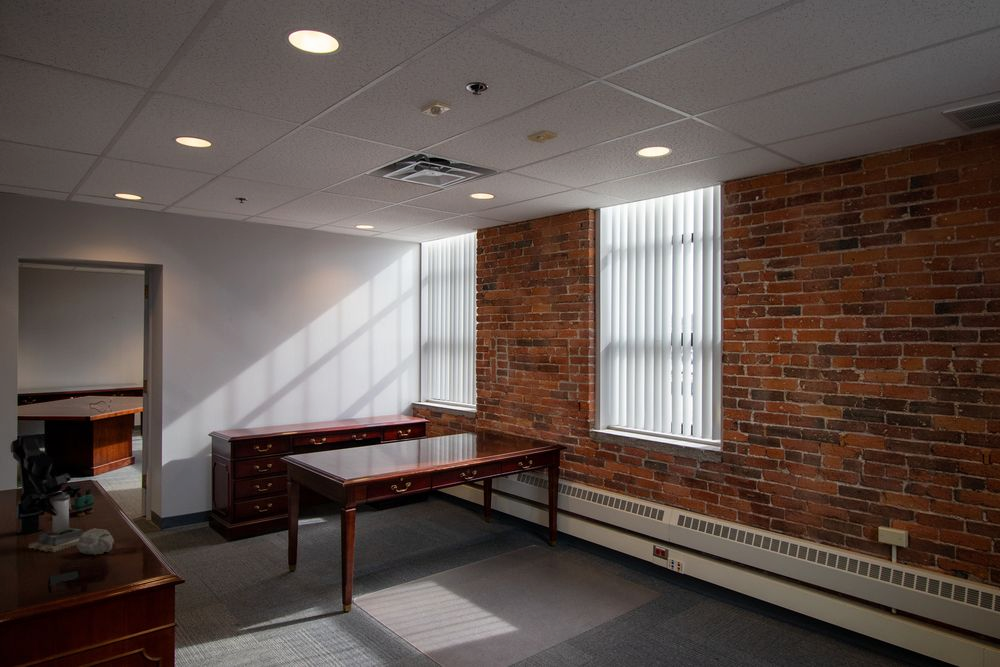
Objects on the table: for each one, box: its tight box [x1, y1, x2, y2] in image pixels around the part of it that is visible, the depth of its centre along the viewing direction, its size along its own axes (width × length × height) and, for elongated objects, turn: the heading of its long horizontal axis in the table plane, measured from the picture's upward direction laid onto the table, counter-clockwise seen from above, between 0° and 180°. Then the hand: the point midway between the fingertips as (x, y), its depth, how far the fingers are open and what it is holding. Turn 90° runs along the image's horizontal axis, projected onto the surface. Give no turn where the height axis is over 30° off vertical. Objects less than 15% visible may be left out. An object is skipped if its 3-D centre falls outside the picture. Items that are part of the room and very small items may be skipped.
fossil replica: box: [76, 527, 115, 556], centre depth 216 cm, size 12×8×10 cm
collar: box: [27, 527, 84, 553], centre depth 225 cm, size 14×14×4 cm
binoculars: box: [69, 488, 95, 517], centre depth 266 cm, size 9×11×10 cm
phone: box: [49, 571, 79, 587], centre depth 189 cm, size 7×1×15 cm
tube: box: [51, 494, 70, 532], centre depth 226 cm, size 5×5×13 cm
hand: (63, 513), depth 225 cm, fingers closed on tube, 5 cm apart
